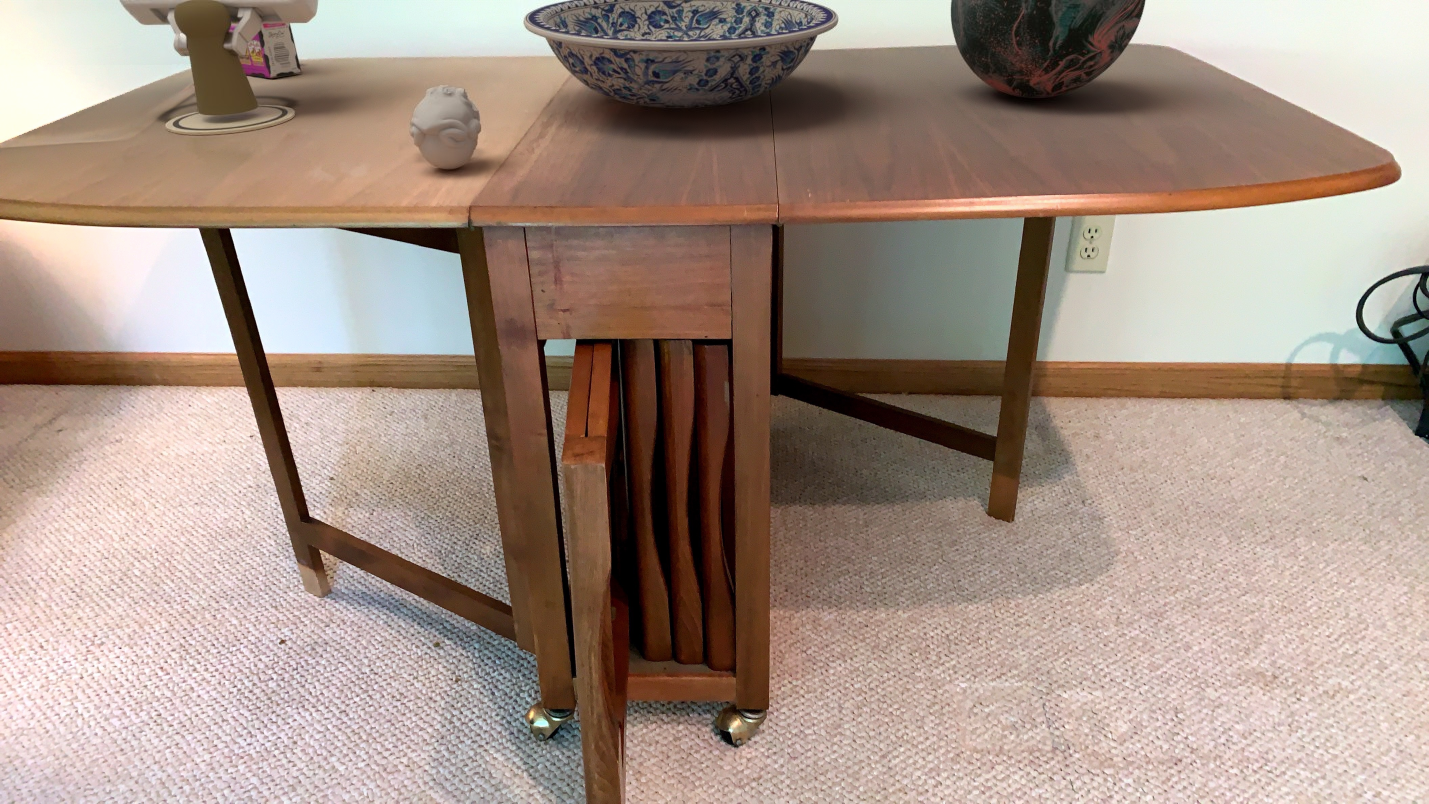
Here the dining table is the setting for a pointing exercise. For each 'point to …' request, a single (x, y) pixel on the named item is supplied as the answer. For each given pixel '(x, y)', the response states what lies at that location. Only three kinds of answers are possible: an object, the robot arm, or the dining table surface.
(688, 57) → the ceramic bowl
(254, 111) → the round coaster
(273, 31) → the candy bar box
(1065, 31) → the decorative sphere
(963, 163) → the dining table surface
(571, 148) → the dining table surface
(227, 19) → the cork
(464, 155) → the frog figurine
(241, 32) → the robot arm
